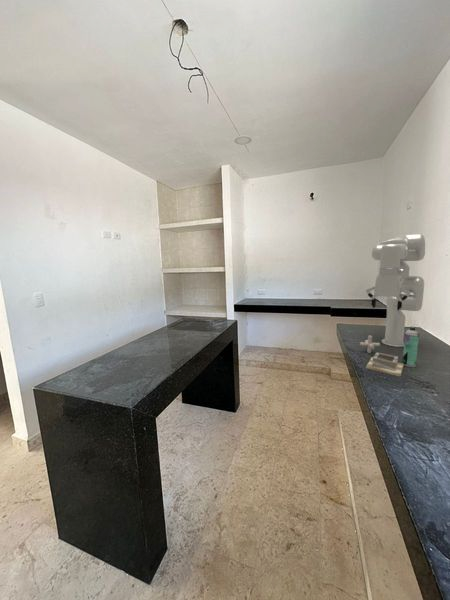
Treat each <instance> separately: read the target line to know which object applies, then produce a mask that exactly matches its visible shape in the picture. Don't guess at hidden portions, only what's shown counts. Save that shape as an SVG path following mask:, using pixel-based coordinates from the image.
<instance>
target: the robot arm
mask: <svg viewBox="0 0 450 600" xmlns="http://www.w3.org/2000/svg"><path fill="white" fill-rule="evenodd" d="M425 254H426V240H425V236H424V234H422V233H406V234H398V235H396V236H394V237H393V238H391V239H388V240H385V241H380V242H378V243H376V244H375V245H374V246H373V248H372V250H371V256H372V259H374V260H375V261H379V271H378V274H377V276H376V280H375V285H374V286H372V287H370V288H368V289H366V290H365V292H366V294H367V296H368V297H369V298H370V299H371V306H372V308H373V309H374V308H376V307H377V306H376V305H377V297H386V299H385V300H386V301H385V303H386V320H385V321H386V323H385V333H384V338H383V339H381V343H382V344H384V345H386V346H389V347H395V348H402V347H403V348H404V341H405V340H404V339H405V327H406V325H405V324H406V315H405V314H404V313H403V311H408V312H409V311H410V312H411V311H412V312H420V311H421V310H422V307H423V301H424V290H425V289H424V288H425V281H424V278H423V277H421V276H416V275H414V276H413V275H410V266H409V264H408V263H407V262H418V261H422V260H423V259H424V258H425ZM371 291H373V293H374V294H373V293H372V292H371ZM402 292H403V293H402ZM411 293H412V294H411Z"/></svg>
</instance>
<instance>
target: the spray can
mask: <svg viewBox="0 0 450 600" xmlns="http://www.w3.org/2000/svg"><path fill="white" fill-rule="evenodd" d="M419 337H420V332H419V331H418V330H417V329H416V327H414V326H410V328H409V329H407V330H405V331H404V340H403V341H404V347H403V352H402V362H401V363H403V364H404V365H403V366H405V367H407V368H408V367H410V368H415V367H416V364H417V356H418V346H419V341H420V338H419Z"/></svg>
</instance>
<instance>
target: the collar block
mask: <svg viewBox="0 0 450 600" xmlns="http://www.w3.org/2000/svg"><path fill="white" fill-rule="evenodd" d="M404 366H405V365H404V364H403V363H402V362H399V356H398V355H392V354H387V353H382V352H376V353H375V354H374V356H371V358H370V359H369V360H368V362H367V364H366V366H365V369H368V370H371V371H376V372H378V373H383V374H387V375H391V376H396V377H401V376H402V371H403V369H404Z"/></svg>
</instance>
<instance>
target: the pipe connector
mask: <svg viewBox="0 0 450 600" xmlns="http://www.w3.org/2000/svg"><path fill="white" fill-rule="evenodd" d="M372 340H373V335H368V336H367V339H365V340H364V342H363V341H361V342H359V346H362V347H363V346H365V347H366V346H367V350H366V352H367V353H368V354H371V353H372V350H374V349H375V347H380V346H381V344H380V342H373V341H372Z"/></svg>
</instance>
